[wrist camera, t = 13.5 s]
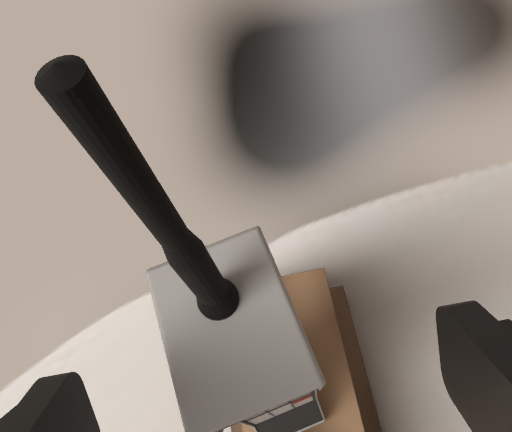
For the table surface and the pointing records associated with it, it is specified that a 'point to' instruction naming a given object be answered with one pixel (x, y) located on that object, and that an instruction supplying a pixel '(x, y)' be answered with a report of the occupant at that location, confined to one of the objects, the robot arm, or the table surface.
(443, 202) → the table surface
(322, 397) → the walnut ridge
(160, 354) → the table surface
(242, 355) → the vintage mobile phone
